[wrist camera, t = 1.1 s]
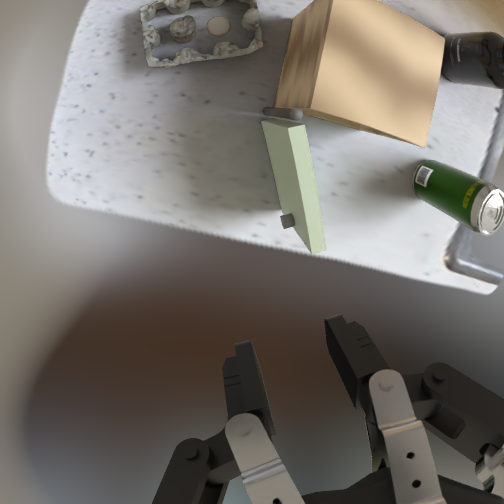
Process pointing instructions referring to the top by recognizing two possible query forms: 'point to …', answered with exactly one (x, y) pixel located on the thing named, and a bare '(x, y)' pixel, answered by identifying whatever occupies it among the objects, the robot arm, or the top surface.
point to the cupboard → (361, 69)
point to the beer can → (460, 196)
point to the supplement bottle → (474, 59)
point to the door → (295, 180)
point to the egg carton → (185, 30)
